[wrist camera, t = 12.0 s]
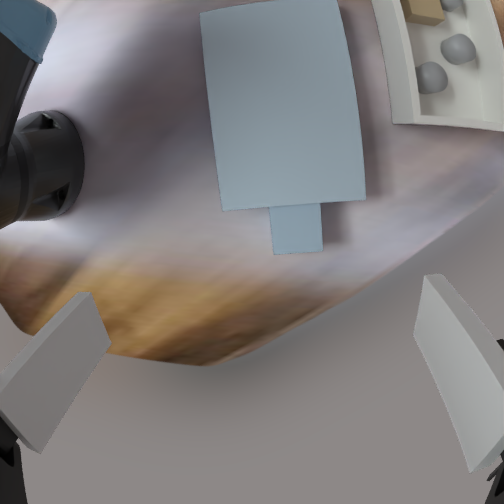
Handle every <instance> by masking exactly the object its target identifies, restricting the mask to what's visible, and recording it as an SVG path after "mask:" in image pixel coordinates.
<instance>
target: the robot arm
mask: <svg viewBox="0 0 504 504" xmlns="http://www.w3.org/2000/svg"><path fill="white" fill-rule="evenodd" d="M56 24H57V19H56V15H55V13H54V12H53V11H52V10H51V9H50V8H49V7H47V6H45V5H44V4H42V3H40V2H38V1H36V0H0V229H2V228H4V227H6V226H7V225H9V224H11V223H14V222H16V221H45V220H49V219H52V218H54V217H56V216H58V215H61V214H62V213H64V212H66V211H67V210H68V209H69V208H70V207H71V206H72V204H73V203H74V202H75V200H76V198H77V196H78V194H79V191H80V188H81V185H82V181H83V174H84V155H83V148H82V144H81V141H80V138H79V135H78V133H77V131H76V129H75V127H74V125H73V124H72V123H71V121H70V120H69V119H68V118H67V117H65V116H64V115H63V114H61V113H59V112H55V111H38V112H34V113H31V114H29V115H27V116H25V117H23V118H21V119H19V120H18V121H17V118H18V115H19V112H20V109H21V107H22V104H23V101H24V99H25V96H26V93H27V91H28V88H29V86H30V83H31V81H32V79H33V76H34V74H35V72H36V70H37V67H38V65H39V64H41V63H42V61H43V54H44V52H45V50H46V47H47V45H48V43H49V41H50V39H51V37H52V35H53V33H54V31H55V28H56ZM413 336H414V338H415V340H416V342H417V344H418V346H419V348H420V350H421V352H422V354H423V357H424V359H425V361H426V363H427V365H428V367H429V369H430V372H431V374H432V376H433V378H434V380H435V383H436V385H437V387H438V390H439V392H440V394H441V397H442V399H443V401H444V404H445V406H446V409H447V411H448V414H449V416H450V419H451V421H452V424H453V426H454V429H455V432H456V434H457V437H458V440H459V443H460V445H461V448H462V451H463V454H464V457H465V460H466V463H467V466H468V469H469V472H470V473H473V472H475V471H478V470H480V469H483V468H485V467H487V466H490V465H491V464H492V463H493V462H494V461H495V460H496V459H497V457H498V456H499V455H501V457H502V460H503V462H502V463H501V464H500V465H499V466H498V467H497V468H496V469H495V470H494V471H493V472H492V473H491V474H490V475H489V477H488V479H487V481H490V480H491V479H492V478H493V477H494V476H495V475H496V477H495V479H494V482H493V485H492V487H491V490H490V492H489V495H488V497H487V499H486V502H485V504H504V340H503V339H500V340H495V339H494V337H493V336H492V334H491V333H490V332H489V330H488V329H487V328H486V326H485V325H484V324H483V323H482V321H481V320H480V319H479V318H478V316H477V315H476V314H475V312H474V311H473V310H472V309H471V307H470V306H469V305H468V304H467V303H466V302H465V300H464V299H463V298H462V297H461V295H460V294H459V293H458V292H457V291H456V289H455V288H454V287H453V286H452V285H451V284H450V282H449V281H447V279H446V278H445V277H444V276H443V275H442V274H441V273H440V274H431V275H424V280H423V287H422V292H421V298H420V304H419V309H418V315H417V319H416V324H415V329H414V333H413ZM111 344H112V343H111V341H110V339H109V337H108V334H107V332H106V330H105V327H104V325H103V322H102V320H101V317H100V315H99V312H98V310H97V307H96V304H95V302H94V299H93V296H92V294H91V292H78V293H77V294H76V295H75V296H74V297H72V298H71V299H70V300H69V301H68V302H67V303H66V304H65V305H64V306H63V307H62V308H61V309H60V310H59V311H58V312H57V313H56V314H55V315H54V316H53V317H52V318H51V319H50V320H49V321H48V322H47V323H46V324H45V325H44V326H43V327H42V329H41V330H40V331H39V332H38V333H37V334H36V335H35V336H34V337H33V338H32V339H31V340H30V341H29V342H28V343H27V344H26V345H25V347H24V348H23V349H22V350H21V351H20V352H19V353H18V354H17V355H16V357H15V358H14V359H13V360H12V361H11V362H10V363H9V364H8V365H7V367H6V368H5V369H4V370H3V371H2V372H1V374H0V504H28V503H27V498H26V493H25V486H24V479H23V472H22V462H21V452H20V447H19V445H18V444H17V442H16V440H17V439H18V438H19V439H20V440H21V441H22V442H23V443H24V444H25V445H26V446H27V447H28V448H29V449H31V450H33V451H35V452H37V453H39V454H41V453H42V451H43V449H44V447H45V446H46V444H47V443H48V441H49V439H50V438H51V436H52V434H53V432H54V431H55V429H56V428H57V426H58V424H59V423H60V421H61V419H62V418H63V416H64V415H65V413H66V411H67V410H68V408H69V407H70V405H71V404H72V402H73V401H74V399H75V397H76V396H77V394H78V393H79V391H80V390H81V388H82V386H83V385H84V383H85V382H86V381H87V379H88V377H89V376H90V374H91V373H92V371H93V370H94V369H95V367H96V366H97V364H98V363H99V361H100V360H101V358H102V357H103V355H104V354H105V352H106V351H107V349H108V348H109V347H110V345H111Z"/></svg>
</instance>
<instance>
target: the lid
mask: <svg viewBox="0 0 504 504" xmlns="http://www.w3.org/2000/svg"><path fill="white" fill-rule="evenodd" d="M199 16H200V27H201V37H202V47H203V57H204V66H205V76H206V85H207V94H208V102H209V111H210V119H211V128H212V136H213V144H214V152H215V160H216V168H217V176H218V183H219V191H220V198H221V205H222V211H231V210H241V209H251V208H262V207H269V214H270V223H271V233H272V243H273V252H274V255H277V254H291V253H305V252H319V251H323V241H322V224H321V209H320V203H325V202H340V201H357V200H366V187H365V171H364V159H363V147H362V137H361V128H360V120H359V112H358V104H357V97H356V91H355V84H354V78H353V72H352V67H351V61H350V56H349V51H348V46H347V41H346V36H345V32H344V27H343V23H342V19H341V15H340V10H339V7H338V3H337V0H275V1H266V2H257V3H250V4H243V5H237V6H231V7H226V8H221V9H216V10H211V11H206V12H202V13H199Z"/></svg>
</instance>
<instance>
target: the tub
mask: <svg viewBox="0 0 504 504" xmlns="http://www.w3.org/2000/svg"><path fill="white" fill-rule="evenodd" d="M371 2H372V6H373V10H374V14H375V18H376V22H377V27H378V31H379V36H380V41H381V46H382V51H383V56H384V62H385V68H386V74H387V81H388V88H389V96H390V104H391V113H392V123H393V124H416V125H436V126H450V127H462V128H472V129H481V130H490V131H499V132H504V48H503V44H502V40H501V36H500V32H499V28H498V25H497V21H496V18H495V14H494V11H493V8H492V5H491V2H490V0H371Z"/></svg>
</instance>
